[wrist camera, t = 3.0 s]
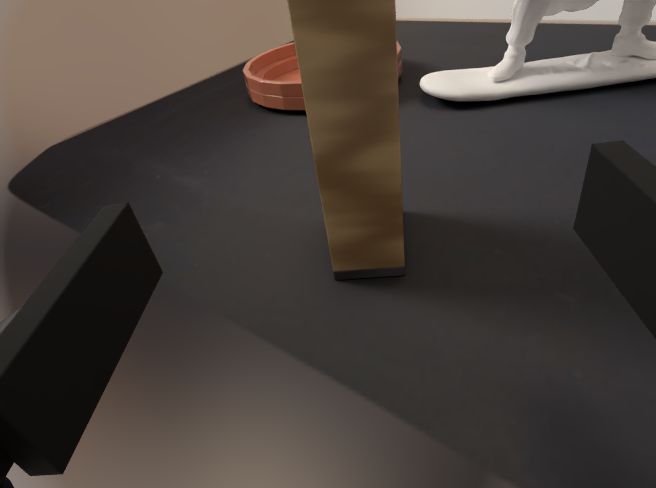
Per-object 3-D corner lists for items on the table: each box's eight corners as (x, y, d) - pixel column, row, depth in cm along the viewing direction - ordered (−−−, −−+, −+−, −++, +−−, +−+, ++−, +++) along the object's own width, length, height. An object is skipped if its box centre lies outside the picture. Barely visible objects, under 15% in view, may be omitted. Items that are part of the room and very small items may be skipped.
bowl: (223, 115, 44) (215, 85, 42) (284, 64, 56) (279, 38, 54) (383, 114, 39) (381, 80, 37) (412, 58, 51) (412, 29, 49)
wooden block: (334, 280, 23) (286, -3, 15) (337, 214, 27) (302, -27, 19) (405, 275, 22) (394, -19, 14) (396, 209, 27) (384, -39, 19)
